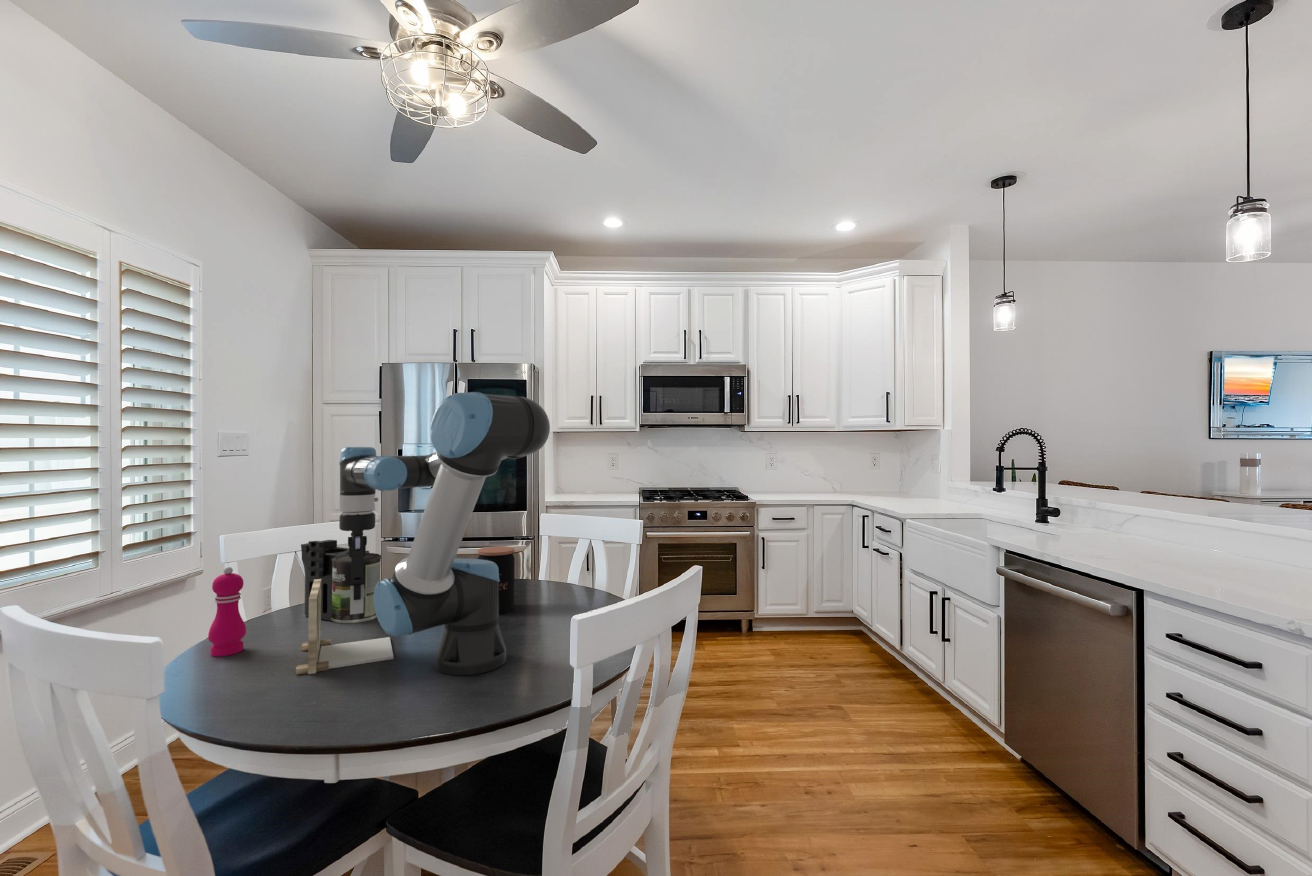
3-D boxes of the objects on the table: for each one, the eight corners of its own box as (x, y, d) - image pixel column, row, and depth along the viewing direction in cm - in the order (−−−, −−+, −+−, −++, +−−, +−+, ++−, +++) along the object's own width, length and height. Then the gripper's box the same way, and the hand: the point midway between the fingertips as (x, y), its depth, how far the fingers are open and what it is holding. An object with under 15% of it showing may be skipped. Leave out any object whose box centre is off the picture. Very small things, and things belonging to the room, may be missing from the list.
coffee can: (340, 626, 130) (341, 563, 130) (324, 617, 137) (325, 556, 137) (387, 616, 137) (388, 556, 137) (370, 608, 144) (371, 551, 144)
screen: (328, 671, 126) (328, 597, 126) (295, 676, 123) (296, 600, 124) (331, 643, 144) (331, 578, 144) (302, 646, 141) (303, 580, 141)
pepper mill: (252, 649, 139) (253, 565, 140) (219, 659, 133) (220, 571, 133) (234, 644, 142) (235, 562, 143) (201, 654, 136) (202, 568, 136)
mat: (393, 658, 134) (393, 656, 134) (317, 670, 127) (317, 667, 127) (389, 639, 147) (389, 636, 147) (321, 648, 140) (321, 646, 140)
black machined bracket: (329, 607, 175) (329, 534, 175) (379, 615, 167) (380, 538, 167) (291, 618, 164) (291, 540, 164) (343, 627, 156) (343, 545, 156)
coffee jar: (470, 614, 169) (470, 551, 169) (487, 604, 180) (487, 545, 180) (505, 616, 167) (505, 553, 167) (519, 605, 178) (520, 546, 178)
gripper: (377, 517, 129) (376, 618, 129) (373, 506, 149) (372, 594, 149) (338, 519, 125) (337, 622, 125) (340, 508, 145) (339, 597, 145)
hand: (356, 607), depth 137 cm, fingers closed on coffee can, 10 cm apart
